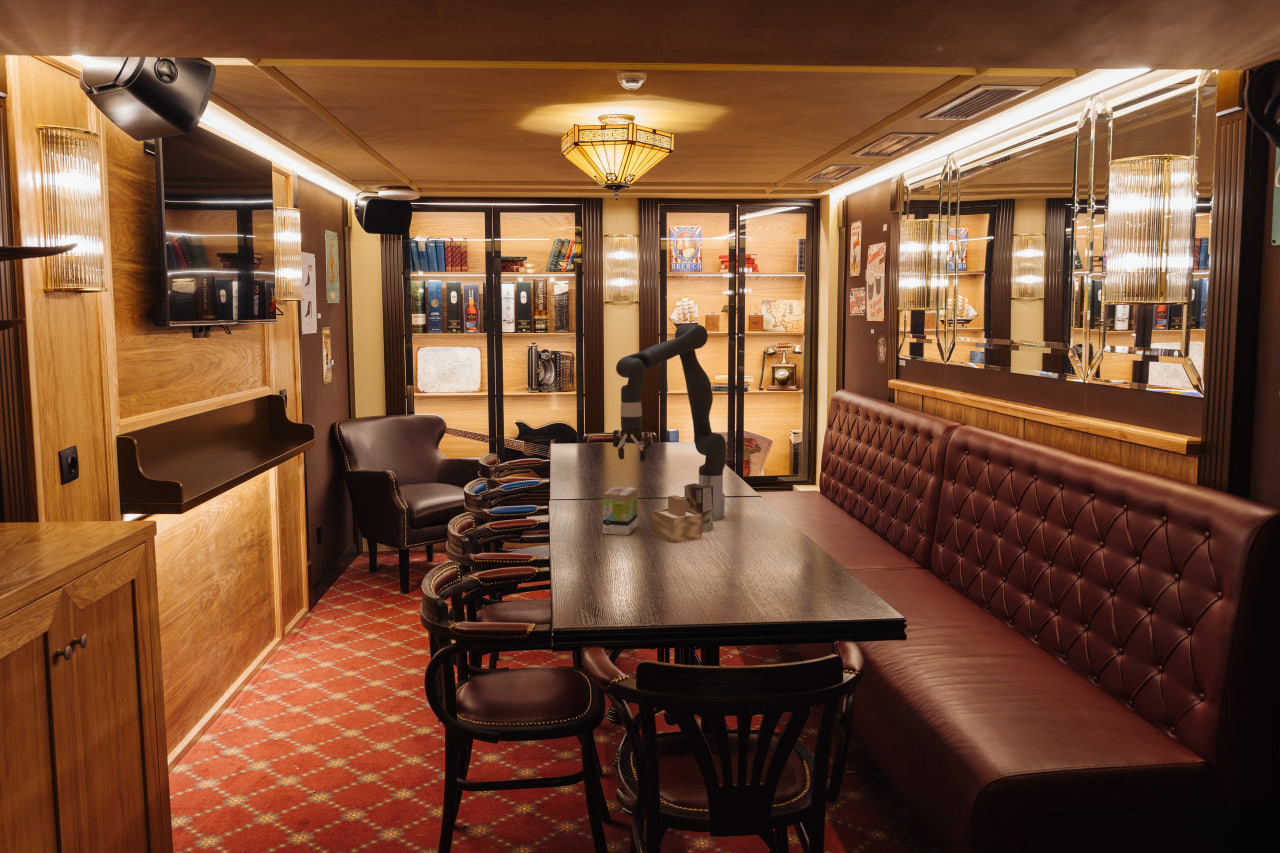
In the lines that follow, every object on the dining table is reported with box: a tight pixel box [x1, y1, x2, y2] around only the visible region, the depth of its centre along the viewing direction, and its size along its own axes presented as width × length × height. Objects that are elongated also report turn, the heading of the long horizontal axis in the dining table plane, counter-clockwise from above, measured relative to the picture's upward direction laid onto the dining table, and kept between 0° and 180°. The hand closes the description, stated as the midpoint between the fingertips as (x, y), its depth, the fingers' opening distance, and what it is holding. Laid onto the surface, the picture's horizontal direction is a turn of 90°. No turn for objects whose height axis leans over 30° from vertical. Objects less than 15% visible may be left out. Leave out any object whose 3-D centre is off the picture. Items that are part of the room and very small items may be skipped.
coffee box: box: [683, 482, 714, 533], centre depth 323 cm, size 9×6×16 cm
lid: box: [659, 494, 694, 518], centre depth 311 cm, size 10×12×7 cm
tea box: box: [602, 486, 639, 536], centre depth 321 cm, size 15×10×15 cm, turn 168°
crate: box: [651, 508, 703, 544], centre depth 312 cm, size 12×14×9 cm
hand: (632, 460), depth 313 cm, fingers open, 8 cm apart
